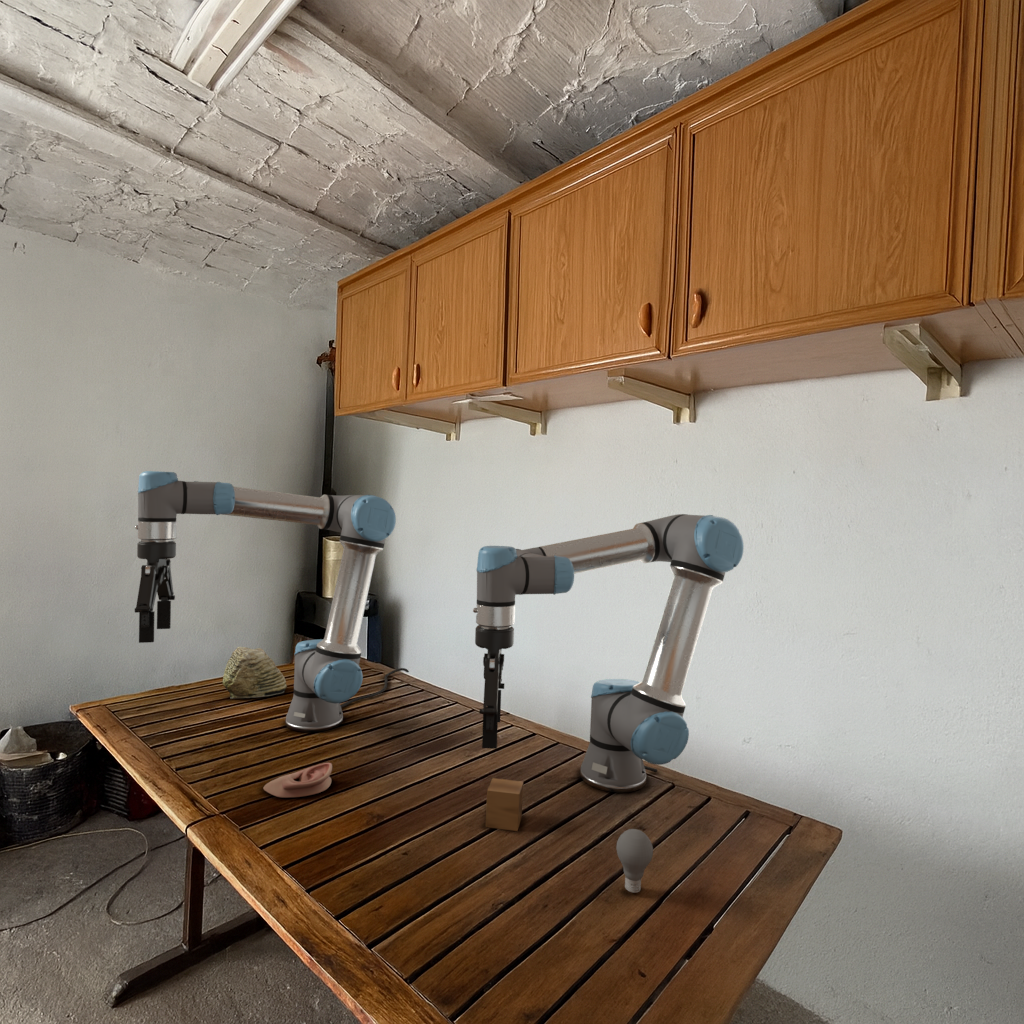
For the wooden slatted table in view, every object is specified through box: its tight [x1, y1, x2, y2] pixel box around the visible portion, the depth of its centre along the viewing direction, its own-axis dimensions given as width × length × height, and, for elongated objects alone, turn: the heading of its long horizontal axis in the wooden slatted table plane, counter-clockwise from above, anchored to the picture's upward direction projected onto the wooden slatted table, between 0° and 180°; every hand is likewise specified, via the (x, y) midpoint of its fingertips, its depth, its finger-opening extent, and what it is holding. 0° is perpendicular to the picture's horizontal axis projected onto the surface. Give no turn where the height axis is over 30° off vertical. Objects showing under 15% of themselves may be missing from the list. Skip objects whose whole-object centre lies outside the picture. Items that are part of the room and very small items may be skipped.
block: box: [485, 777, 524, 832], centre depth 127 cm, size 6×6×7 cm
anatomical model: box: [262, 762, 333, 799], centre depth 138 cm, size 13×4×12 cm
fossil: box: [222, 646, 288, 699], centre depth 198 cm, size 9×18×15 cm, turn 132°
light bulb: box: [615, 828, 654, 894], centre depth 106 cm, size 6×6×10 cm
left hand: (155, 635), depth 142 cm, fingers open, 13 cm apart
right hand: (491, 734), depth 124 cm, fingers open, 13 cm apart
